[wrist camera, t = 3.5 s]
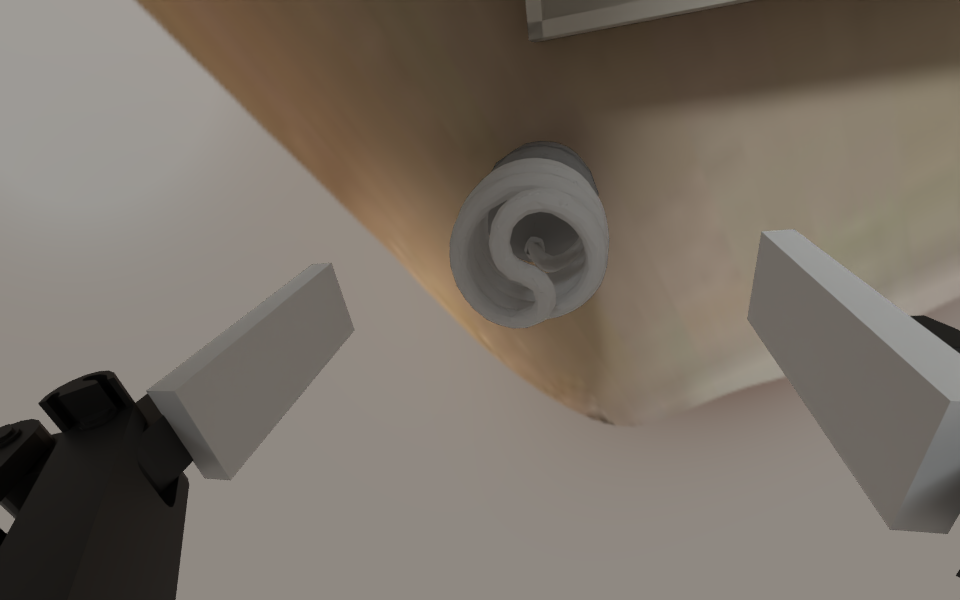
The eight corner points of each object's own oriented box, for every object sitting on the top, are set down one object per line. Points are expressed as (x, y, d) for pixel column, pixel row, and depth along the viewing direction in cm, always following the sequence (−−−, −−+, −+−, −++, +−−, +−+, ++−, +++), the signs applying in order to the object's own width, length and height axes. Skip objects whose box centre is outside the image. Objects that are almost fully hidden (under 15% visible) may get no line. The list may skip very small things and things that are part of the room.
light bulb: (598, 223, 24) (617, 349, 14) (501, 233, 25) (453, 353, 15) (594, 117, 21) (613, 175, 11) (486, 134, 23) (415, 199, 12)
